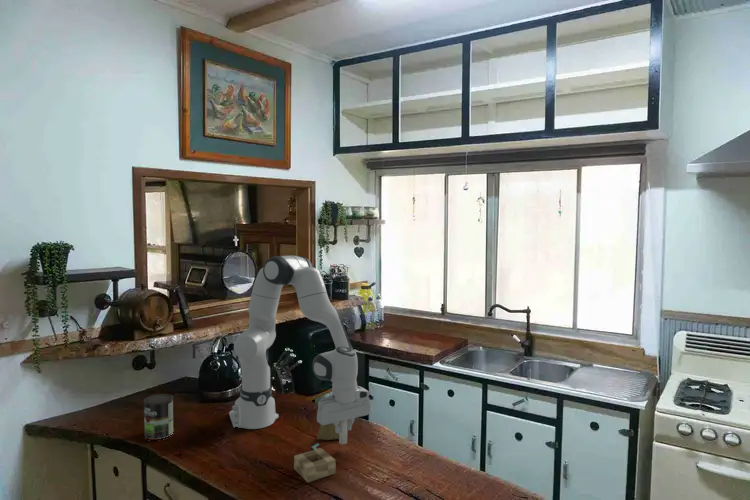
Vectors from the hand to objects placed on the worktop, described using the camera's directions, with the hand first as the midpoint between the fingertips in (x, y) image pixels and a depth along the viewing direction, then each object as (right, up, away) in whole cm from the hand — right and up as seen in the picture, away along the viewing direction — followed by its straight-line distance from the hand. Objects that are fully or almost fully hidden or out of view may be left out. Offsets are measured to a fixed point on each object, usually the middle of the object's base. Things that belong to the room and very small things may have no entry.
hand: (343, 431), depth 176 cm
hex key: (-8, -7, -1) cm, 10 cm away
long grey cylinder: (0, -4, 0) cm, 4 cm away
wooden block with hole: (-9, -8, -14) cm, 18 cm away
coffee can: (-71, -6, +11) cm, 72 cm away
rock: (-5, -7, +10) cm, 13 cm away
